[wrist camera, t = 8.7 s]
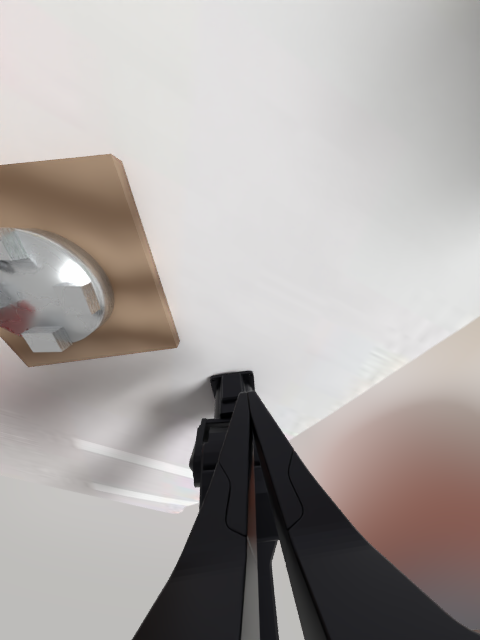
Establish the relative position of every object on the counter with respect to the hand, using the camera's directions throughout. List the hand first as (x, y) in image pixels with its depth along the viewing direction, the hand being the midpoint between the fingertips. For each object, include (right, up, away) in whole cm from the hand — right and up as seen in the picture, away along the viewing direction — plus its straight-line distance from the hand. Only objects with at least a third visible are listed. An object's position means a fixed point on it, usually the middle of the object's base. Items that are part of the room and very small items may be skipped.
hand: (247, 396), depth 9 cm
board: (-18, +8, +9) cm, 22 cm away
